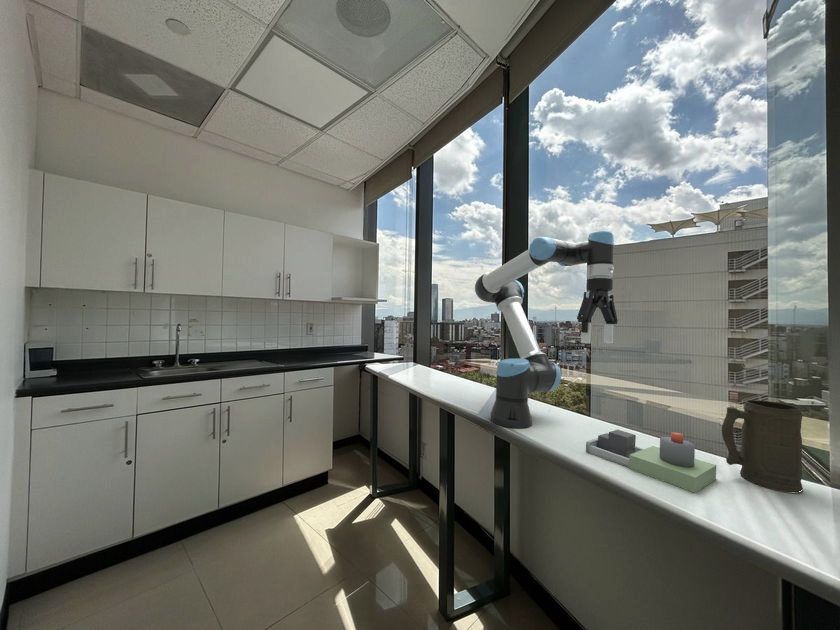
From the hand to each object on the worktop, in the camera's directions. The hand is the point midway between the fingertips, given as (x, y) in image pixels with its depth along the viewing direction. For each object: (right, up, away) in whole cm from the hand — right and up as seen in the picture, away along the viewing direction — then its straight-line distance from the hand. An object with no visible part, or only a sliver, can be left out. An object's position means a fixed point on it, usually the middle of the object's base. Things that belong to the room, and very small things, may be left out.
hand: (597, 343), depth 107 cm
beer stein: (+27, -33, -25) cm, 49 cm away
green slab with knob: (+4, -32, -18) cm, 36 cm away
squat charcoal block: (-1, -31, -11) cm, 33 cm away
